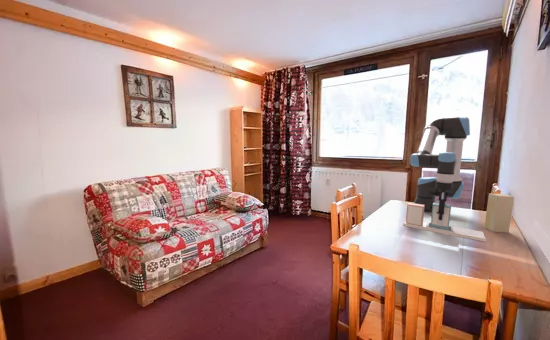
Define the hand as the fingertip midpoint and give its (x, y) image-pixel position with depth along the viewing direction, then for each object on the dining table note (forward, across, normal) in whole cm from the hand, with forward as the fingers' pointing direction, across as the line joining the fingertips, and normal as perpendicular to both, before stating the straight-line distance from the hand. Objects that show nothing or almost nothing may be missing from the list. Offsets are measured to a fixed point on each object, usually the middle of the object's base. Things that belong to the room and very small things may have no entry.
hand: (439, 224), depth 133 cm
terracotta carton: (+3, 0, -12) cm, 12 cm away
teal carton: (+1, 0, 0) cm, 1 cm away
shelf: (+5, -3, +1) cm, 6 cm away
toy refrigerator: (+5, -20, +25) cm, 33 cm away
